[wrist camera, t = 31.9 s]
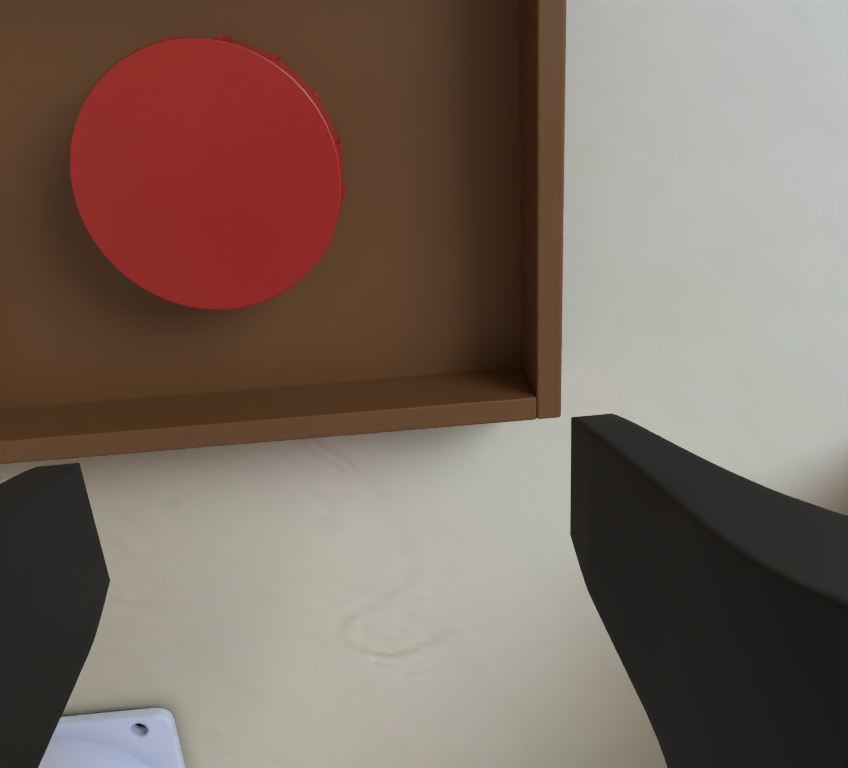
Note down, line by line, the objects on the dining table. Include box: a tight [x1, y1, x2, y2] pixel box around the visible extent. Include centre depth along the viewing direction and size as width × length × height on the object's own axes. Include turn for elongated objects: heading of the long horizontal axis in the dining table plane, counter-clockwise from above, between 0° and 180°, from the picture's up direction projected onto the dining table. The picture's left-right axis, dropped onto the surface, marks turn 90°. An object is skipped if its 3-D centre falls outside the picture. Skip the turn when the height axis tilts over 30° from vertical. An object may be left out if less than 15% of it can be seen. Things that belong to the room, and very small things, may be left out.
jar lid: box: [69, 35, 346, 310], centre depth 18 cm, size 6×6×2 cm
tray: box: [0, 0, 566, 464], centre depth 18 cm, size 15×12×2 cm
